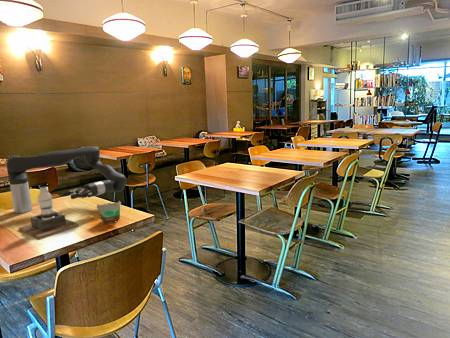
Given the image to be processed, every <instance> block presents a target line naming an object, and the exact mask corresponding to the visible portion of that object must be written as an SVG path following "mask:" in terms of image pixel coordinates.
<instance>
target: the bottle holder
mask: <svg viewBox="0 0 450 338" xmlns="http://www.w3.org/2000/svg"><path fill="white" fill-rule="evenodd" d="M53 212H54V216H55V217H53V218H50V219H47V220H41V218H42V217H41V214H38V215H34V216H31V217H30V223H29V224H26V225H21V226H19V227H18V231H21V232H23V233H25V234H27V235H29V236H31V237H34V238H35V239H38V240H42V239H45V238H48V237H50V236H53V235H56V234H60V233H62V232H65V231H69V230H71V229H74V228H77V227H80V223H79V222H75V221H72V220H70V219H68V218H66V215H65V214H63V213H61V212H57V211H55V210H53Z"/></svg>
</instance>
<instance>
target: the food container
mask: <svg viewBox="0 0 450 338" xmlns="http://www.w3.org/2000/svg"><path fill="white" fill-rule="evenodd" d="M121 206H122V203H121V201H120V200H118V202H108V203H107V202H106V203H104V204H97V205H96V209H98V213H99V217H100V221H102V222H103V224H111V223H110V222H114V223H116V222H115V221H117V222H119V221H120V220H121ZM119 219H120V220H119ZM118 220H119V221H118ZM102 222H101V223H102Z"/></svg>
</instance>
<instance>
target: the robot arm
mask: <svg viewBox="0 0 450 338" xmlns="http://www.w3.org/2000/svg"><path fill="white" fill-rule="evenodd" d="M100 155H101V151H100V148H99V147H98V146H95V145H88V146H83V147H78V148H72V149H66V150H54V151H53V150H52V151H48V152H47V151H46V152H43V153H40V154H36V155H29V156H20V155H19V154H18V155H17V154H13V155H10V156H9V157H8V158H7V159H6V161H5V163H6V164H5V165H6V169H7V177H8V182H9V186H10V187H9V188H10V193H11V200H12V206H13V212H14V213H16V214H23V213H24V214H25V213H28V212H31V211H32V210H33V205H32V200H31V199H32V198H31V193H30V187H29V179H28V175H27V171H29V170H34V169H41V168H53V167H54V168H55V167H61V166H65V165H67V164H68V163H70V162H72V161H73V160H75V159H77V158H79V157H83V158H84V160H83V161H84V162H85V163H86V164H87V165H89V166H90V167H91V168H93V169H94V170H96V171H98V172H99V173H100V174H102V175H103V176H104V178H105V179H104V180H100V181H94V182H91V183H86V184H84V186H83V187H76V188H72V189H68V191H64V192H61V193H62V197H63V198H64V197H69V196H70V199H71V200H75V199H85V198H92V197H96V196H99V195H102V194H105V193H109V192H110V193H113V192H114V193H115V192H116V193H120V192H122V191H125V188H126V183H127V177H126V176H125V175H124V174H123V173H121V172H118V171H116V169H114V168H113V167H112V166H111V165H109V164H103V163H102V161H101V160H100Z"/></svg>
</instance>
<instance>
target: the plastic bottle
mask: <svg viewBox="0 0 450 338" xmlns="http://www.w3.org/2000/svg"><path fill="white" fill-rule="evenodd" d="M39 192H40V193H39V194H38V196H37V200H38V204H39V208H40V215H41V217H42V218H41V220H47V219H50V218H53V217H55V216H54V212H55V211H54V207H53V196H52V194H51V193H50V192H49V187H48V186H41V187H39ZM53 211H54V212H53Z"/></svg>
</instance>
